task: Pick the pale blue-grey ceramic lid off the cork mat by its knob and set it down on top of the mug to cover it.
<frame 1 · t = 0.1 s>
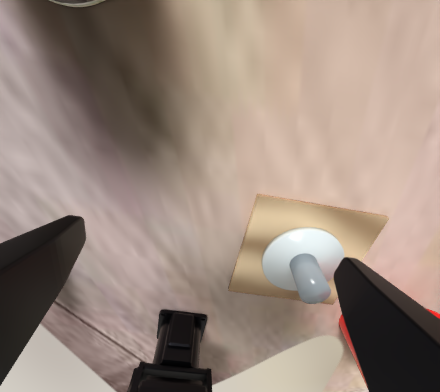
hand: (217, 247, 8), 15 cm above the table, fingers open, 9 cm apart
mat: (299, 255, 28), on the table
lid: (300, 258, 28), resting on mat
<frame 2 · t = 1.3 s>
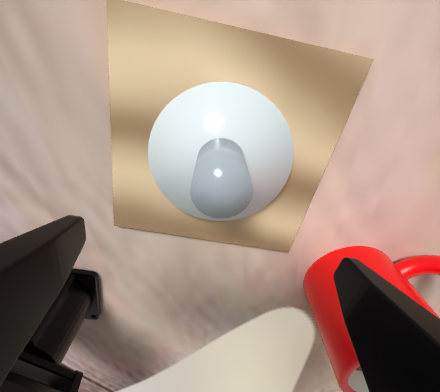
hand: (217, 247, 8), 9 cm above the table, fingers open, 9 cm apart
mat: (220, 154, 16), on the table
lid: (220, 157, 16), point 1 cm above the table, touching mat
mug: (367, 267, 22), on the table
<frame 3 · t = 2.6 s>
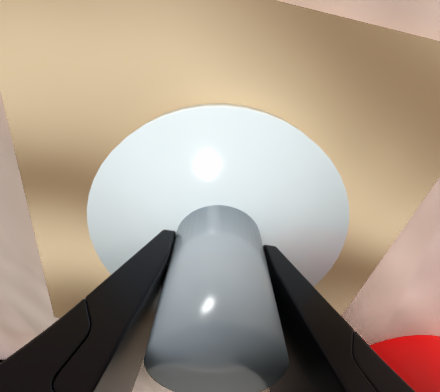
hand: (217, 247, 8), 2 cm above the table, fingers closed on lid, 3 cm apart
mat: (218, 219, 10), on the table
lid: (218, 227, 9), point 1 cm above the table, touching gripper, mat
mug: (428, 356, 15), on the table
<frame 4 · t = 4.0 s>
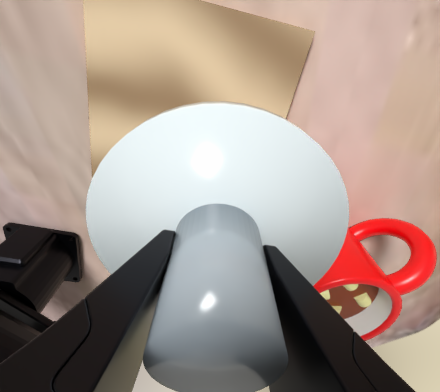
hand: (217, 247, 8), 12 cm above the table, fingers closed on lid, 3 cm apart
mat: (188, 118, 18), on the table
lid: (217, 226, 9), point 11 cm above the table, touching gripper
mug: (327, 233, 24), on the table
when the fingers open (11 cm above the table, at t = 5.3 s): lid drops 2 cm, resting on mug.
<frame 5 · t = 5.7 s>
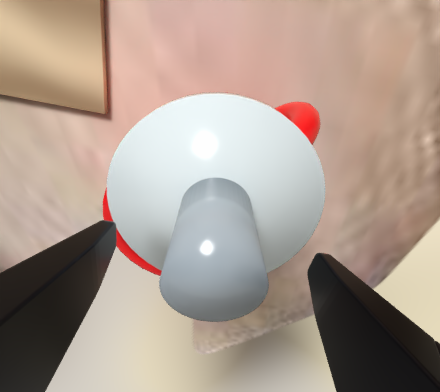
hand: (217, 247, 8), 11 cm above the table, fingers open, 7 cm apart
lid: (216, 200, 11), point 8 cm above the table, touching mug
mug: (219, 146, 18), on the table, touching lid
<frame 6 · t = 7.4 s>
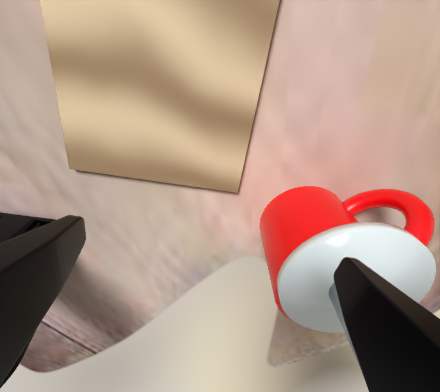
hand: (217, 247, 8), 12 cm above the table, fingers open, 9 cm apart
mat: (158, 90, 17), on the table
lid: (348, 279, 15), point 8 cm above the table, touching mug
mug: (320, 210, 22), on the table, touching lid
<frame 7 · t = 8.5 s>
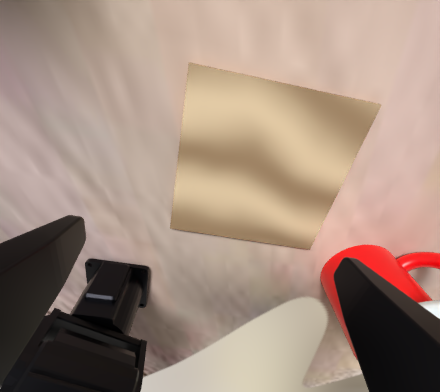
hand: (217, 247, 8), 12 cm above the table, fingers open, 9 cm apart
mat: (260, 172, 20), on the table
mug: (374, 262, 26), on the table, touching lid
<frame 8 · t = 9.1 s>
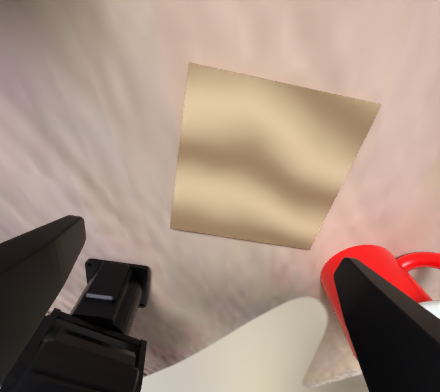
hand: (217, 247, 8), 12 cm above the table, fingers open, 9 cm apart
mat: (260, 172, 20), on the table
mug: (374, 262, 26), on the table, touching lid
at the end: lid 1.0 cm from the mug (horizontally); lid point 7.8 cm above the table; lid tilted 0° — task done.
